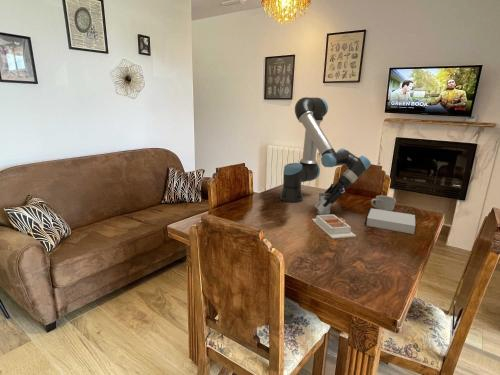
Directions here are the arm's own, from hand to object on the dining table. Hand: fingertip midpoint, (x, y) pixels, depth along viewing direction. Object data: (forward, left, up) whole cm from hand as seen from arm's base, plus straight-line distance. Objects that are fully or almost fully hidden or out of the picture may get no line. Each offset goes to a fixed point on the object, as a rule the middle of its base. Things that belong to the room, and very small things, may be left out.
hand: (317, 208), depth 166 cm
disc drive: (+37, -8, -4) cm, 38 cm away
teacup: (+38, +13, -4) cm, 40 cm away
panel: (+4, +1, -3) cm, 5 cm away
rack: (+6, -18, -3) cm, 20 cm away
